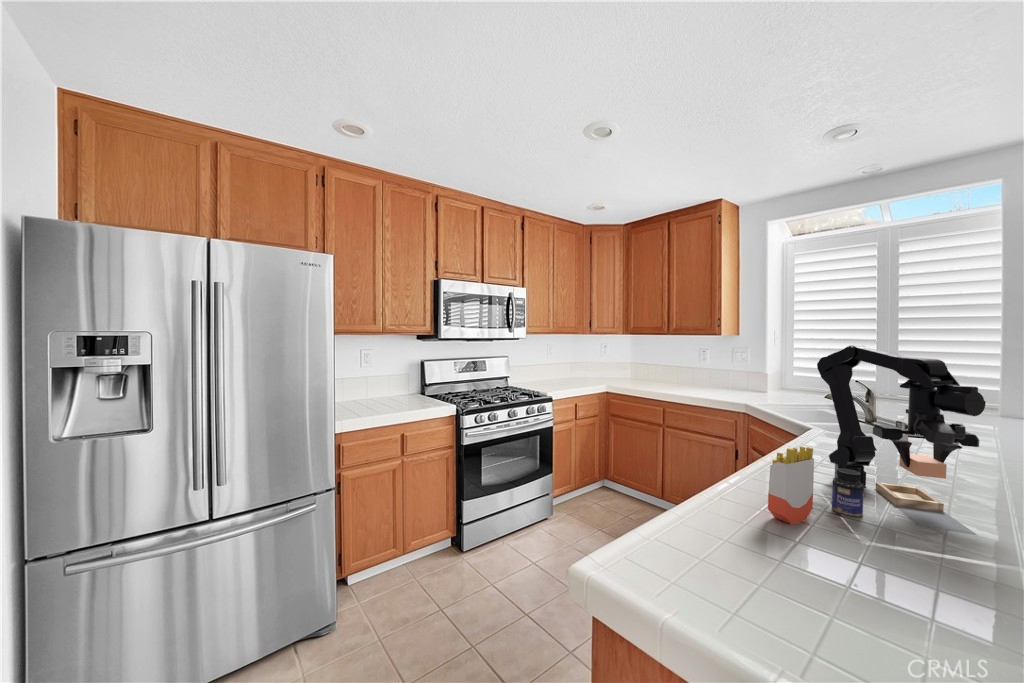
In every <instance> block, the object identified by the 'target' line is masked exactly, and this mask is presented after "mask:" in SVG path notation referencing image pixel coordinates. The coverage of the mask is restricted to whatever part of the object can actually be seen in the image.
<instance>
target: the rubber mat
mask: <svg viewBox="0 0 1024 683" xmlns="http://www.w3.org/2000/svg"><path fill="white" fill-rule="evenodd" d="M874 491H876V492H877V493H878V494H880V495H881V496H882V497H883V498H885V499H886V501H888V502H889V503H890V504H891V505H893V506H894V507H895V508H896V509H898V510H899V512H901V513H903V515H905V516H907V518H908V519H910V520H911V521H912V522H914V523H915V524H916V525H917V526H919V527H924V528H929V529H930V528H931V529H937V530H943V531H951V532H956V533H963V534H970V535H976V536H977V535H978V534H977V533H976V532H974V531H972V530H971V529H970V528H968V527H967V526H966V525H964V524H963V523H961V522H959V521H958V520H957V519H956V518H954V517H952V516H951V515H950V514H949V513H947V512H945V511H944V512H939V511H932V510H925V509H918V508H910V507H903V506H896V505H894V504H893V503H892V502H890V501H889V500H888V499H887V498H886V497H884V496H883V495H882V494H881V493H880V492H878V491H877V490H876V488H874Z"/></svg>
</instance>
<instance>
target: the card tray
mask: <svg viewBox="0 0 1024 683" xmlns="http://www.w3.org/2000/svg"><path fill="white" fill-rule="evenodd" d="M875 489H876V490H877V491H878V492H880V493H881V494H882V495H883V496H884V497H886V498H887V499H888V500H889V501H890V502H892V503H893V504H894V505H896V506H903V507H910V508H918V509H925V510H932V511H939V512H945V508H944V507H945V506H944V503H943V502H941V501H940V500H939V499H937V498H935V497H934V496H932V495H931V494H929V493H928V492H926V491H925V490H923V489H922V488H920V487H918V486H911V485H910V486H909V485H901V484H892V483H885V482H877V481H876V482H875ZM876 490H875V491H876ZM877 491H876V492H877ZM878 492H877V493H878ZM880 493H879V494H880ZM881 494H880V495H881ZM882 495H881V496H882ZM883 496H882V497H883ZM884 497H883V498H884ZM886 498H885V499H886ZM887 499H886V500H887ZM888 500H887V501H888ZM889 501H888V502H889ZM890 502H889V503H890ZM892 503H891V504H892ZM893 504H892V505H893ZM894 505H893V506H894Z"/></svg>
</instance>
